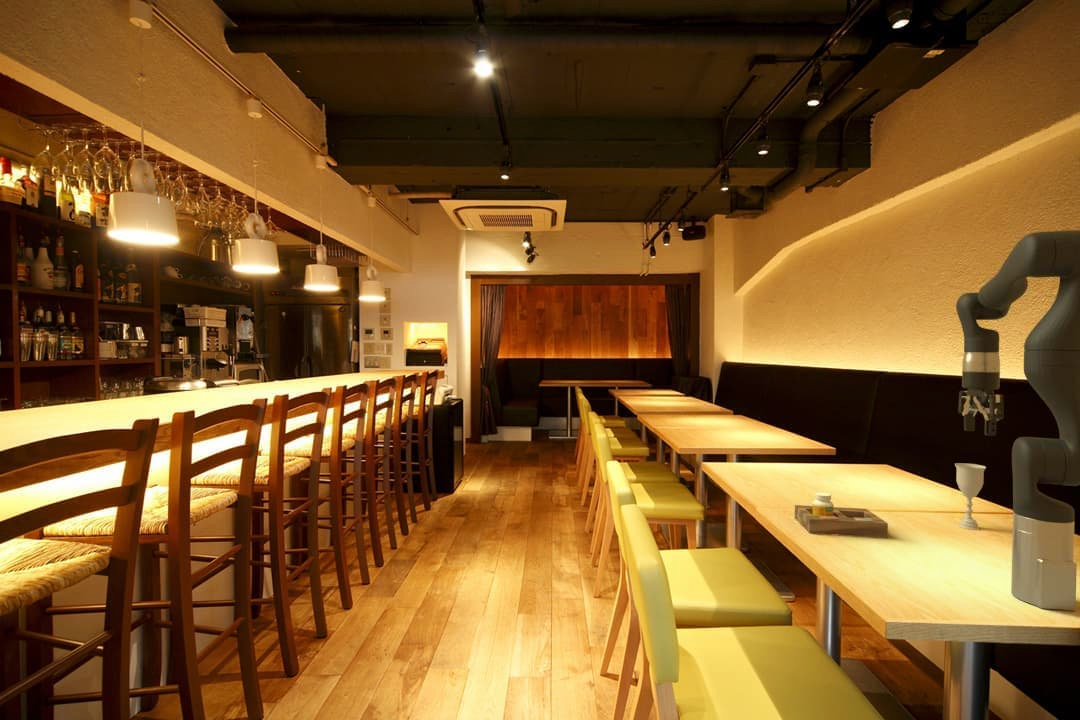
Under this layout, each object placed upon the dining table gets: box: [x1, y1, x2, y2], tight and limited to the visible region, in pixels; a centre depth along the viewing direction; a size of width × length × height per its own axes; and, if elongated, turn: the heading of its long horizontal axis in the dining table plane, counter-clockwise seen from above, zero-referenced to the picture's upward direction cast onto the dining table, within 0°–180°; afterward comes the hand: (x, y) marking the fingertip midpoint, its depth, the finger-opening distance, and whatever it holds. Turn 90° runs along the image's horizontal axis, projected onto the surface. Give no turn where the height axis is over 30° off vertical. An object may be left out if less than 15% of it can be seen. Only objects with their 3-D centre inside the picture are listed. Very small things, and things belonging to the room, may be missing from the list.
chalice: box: [954, 462, 987, 531], centre depth 158 cm, size 7×7×18 cm
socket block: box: [794, 504, 889, 539], centre depth 157 cm, size 14×20×4 cm
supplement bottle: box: [812, 492, 834, 516], centre depth 157 cm, size 5×5×10 cm
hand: (979, 433), depth 140 cm, fingers open, 8 cm apart
